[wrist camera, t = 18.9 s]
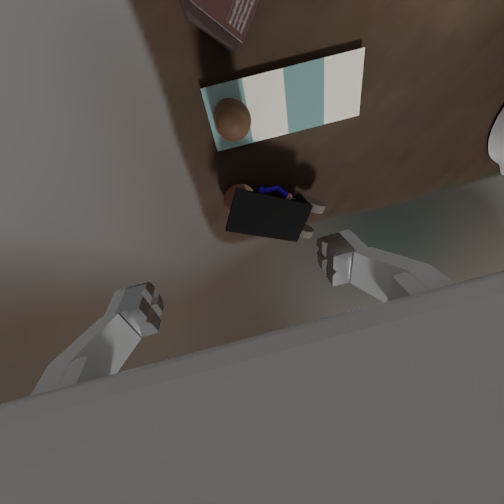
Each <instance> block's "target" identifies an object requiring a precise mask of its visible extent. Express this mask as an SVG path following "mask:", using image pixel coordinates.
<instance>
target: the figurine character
mask: <svg viewBox="0 0 504 504" xmlns="http://www.w3.org/2000/svg"><path fill="white" fill-rule="evenodd" d="M272 191H278V192H280V193H281V194H282V195H283V196H285V198H281V197H276V196H272V195H267V194H265V193H268V192H272ZM224 207H225V209H226V211H227V212H228V213H229V217H228V221H227V225H226V231H228V232H235V233H242V234H248V235H255V236H261V237H268V238H275V239H281V240H288V241H295V242H297V241H298V238H299V237H302V238H311V236H312V234H313V232H314V229H313V228H312V227H310V226H309V225H306V224H305V223H306V221H307V218H308V216H309V214H310V212H314V213H318V214H322V213H323V211H324V209H325V207H326V205H325V204H324V203H322V202H321V201H318V200H316V199H313V198H309V197H303V196H302V195H301V194H297V196H296V198H294V197H292V194H290V193H287V192H286V191H284V190H283V189H282V188H281V187H280V186H273V187H269V188H264V187H260V188H259V189H258V192H254V191H253V189H252V188H251V187H249V186H248V185H245V184H235V185H233V186H231V187H230V188H229V189H228V190H227V191H226V193H225V196H224Z"/></svg>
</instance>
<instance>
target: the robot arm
mask: <svg viewBox="0 0 504 504" xmlns="http://www.w3.org/2000/svg"><path fill="white" fill-rule="evenodd" d="M488 152H489V155H490V157H491V159H492V160H493V161H495V162H496V163H498V164H499V167H500V172H501V174H502V175H504V107H503V109H502V111H501V112H500V114H499V116H498V117H497V119H496V121H495V123H494V125H493V128H492V130H491V133H490V137H489V141H488ZM316 244H317V247H318V248H319V250H318V251H317V260H318V264H319V266H320V268H321V269H322V271H324V272H326V277H327V279H328V280H329V282H330V283H331V285H332V286H336V285H341V284H345V283H349V282H350V283H351V284H353V285H355V286H356V287H358V288H360V289H362V290H363V291H365V292H367V293H369V294H371V295H372V296H374V297H376V298H378V299H379V300H381V301H383V303H379V304H376V305H372V306H368V307H364V308H361V309H357V310H353V311H350V312H345V313H342V314H338V315H334V316H330V317H327V318H323V319H319V320H315V321H311V322H308V323H304V324H300V325H296V326H293V327H289V328H286V329H281V330H278V331H274V332H270V333H266V334H262V335H259V336H255V337H251V338H248V339H244V340H240V341H236V342H232V343H229V344H225V345H221V346H217V347H214V348H210V349H206V350H202V351H198V352H195V353H191V354H187V355H184V356H180V357H176V358H172V359H168V360H165V361H161V362H157V363H153V364H150V365H146V366H142V367H138V368H135V369H131V370H127V371H123V372H120V373H117V372H118V370H119V369H120V368H121V366H122V365H123V364H124V362H125V361H126V359H127V358H128V356H129V355H130V354H131V352H132V351H133V349H134V348H135V346H136V345H137V344H138V342H139V341H140V339H141V337H144V336H148V335H151V334H154V333H157V332H159V329H160V324H161V319H160V318H159V316H160V315H161V314H162V313H163V309H164V304H163V300H162V297H161V296H160V294H159V293H157V292H154V289H155V287H154V285H153V284H152V283H150V282H147V283H143V284H138V285H134V286H130V287H126V288H122V289H119V290H117V291H116V292H115V294H114V296H113V298H112V300H111V302H110V304H109V306H108V308H107V310H106V313H105V315H104V317H103V318H100V319H99V320H98V321H96V322H95V323H94V324H93V325H92V326H91V327H90V328H89V329H88V330H87V331H86V332H84V333H83V334H82V335H81V336H80V337H79V338H78V339H77V340H76V341H74V342H73V343H72V344H71V345H70V346H69V347H68V348H67V349H66V350H65V351H64V352H62V353H61V354H60V355H59V356H58V357H57V358H56V359H55V360H54V361H52V362H51V363H50V364H49V365H48V367H47V368H46V370H45V372H44V374H43V375H42V377H41V379H40V380H39V382H38V384H37V385H36V387H35V389H34V390H33V392H32V394H31V396H29V397H25V398H21V399H18V400H14V401H11V402H7V403H3V404H0V504H504V271H500V272H496V273H493V274H489V275H485V276H481V277H478V278H474V279H470V280H466V281H462V282H459V283H453V282H452V281H451V280H449V279H448V278H447V277H446V276H444V275H443V274H442V273H440V272H439V271H438V270H436V269H435V268H434V267H433V266H431V265H429V264H426V263H423V262H419V261H416V260H413V259H409V258H406V257H403V256H400V255H396V254H393V253H390V252H386V251H383V250H380V249H376V248H373V247H370V248H368V247H367V246H366V245H365V244H364V243H363V242H362V241H361V240H360V239H359V238H358V237H357V236H355V235H354V234H353V233H352V232H351V231H350V230H345V231H341V232H338V233H335V234H331V235H327V236H324V237H320V238H317V243H316Z"/></svg>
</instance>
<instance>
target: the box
mask: <svg viewBox="0 0 504 504" xmlns="http://www.w3.org/2000/svg"><path fill="white" fill-rule="evenodd" d="M260 1H261V0H180V2H181V6H182V9H183V13H184V16H185V18H186V19H188V20H189V21H190V22H191V23H193V24H194V25H195V26H197V27H198V28H199V29H201V30H202V31H203V32H205V33H206V34H207V35H209V36H210V37H211V38H213V39H214V40H215V41H216V42H218V43H219V44H220V45H222V46H223V47H224V48H226V49H227V50H228V51H230V52H231V53H232V54H233V55H235V54H236V52H237V51H238V49H239V47H240V46H241V44H242V43H243V42H244V40H245V37H246V35H247V33H248V30H249V28H250V25H251V23H252V21H253V18H254V16H255V13H256V11H257V8H258V6H259V3H260Z"/></svg>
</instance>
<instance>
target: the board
mask: <svg viewBox="0 0 504 504" xmlns="http://www.w3.org/2000/svg"><path fill="white" fill-rule="evenodd" d="M364 54H365V47H363V48H359V49H356V50H352V51H348V52H344V53H340V54H336V55H332V56H328V57H324V58H320V59H316V60H312V61H308V62H304V63H300V64H296V65H292V66H288V67H284V68H280V69H276V70H272V71H268V72H264V73H260V74H256V75H252V76H248V77H244V78H240V79H237V80H233V81H229V82H225V83H221V84H217V85H213V86H209V87H205V88H201V89H200V90H201V93H202V97H203V100H204V104H205V108H206V111H207V115H208V119H209V122H210V126H211V129H212V133H213V137H214V140H215V144H216V148H217V151H222V150H226V149H230V148H234V147H238V146H242V145H245V144H249V143H253V142H257V141H261V140H265V139H269V138H273V137H277V136H281V135H285V134H289V133H292V132H296V131H300V130H304V129H308V128H312V127H316V126H320V125H324V124H328V123H332V122H336V121H339V120H343V119H347V118H351V117H355V116H359V111H360V100H361V88H362V77H363V65H364ZM224 98H233V99H236V100H239V101H241V102H242V103H243V104H245V106H246V107H247V108H248V110H249V113H250V116H251V126H250V130H249V132H248V134H247V135H246V136H245V137H244V138H243V139H241V140H239V141H236V142H230V141H227V140H225V139H223V138H222V137H221V136H220V135H219V134H218V132H217V130H216V128H215V124H214V119H213V112H214V108H215V106H216V104H217V103H218V102H219V101H220V100H222V99H224Z"/></svg>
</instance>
